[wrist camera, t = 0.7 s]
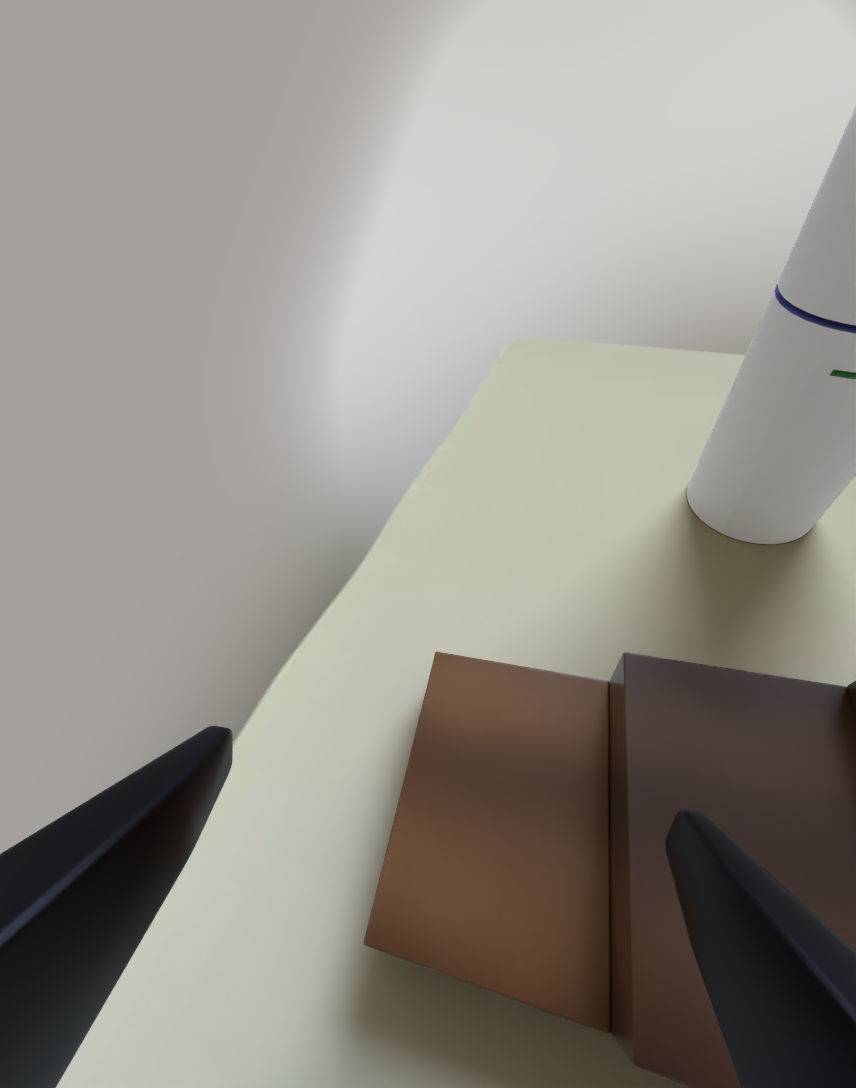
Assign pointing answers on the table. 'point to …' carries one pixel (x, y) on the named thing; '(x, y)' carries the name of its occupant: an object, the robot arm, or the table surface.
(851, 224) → the cylindrical container
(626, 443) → the table surface
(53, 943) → the robot arm
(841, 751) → the brown wooden stepped block
